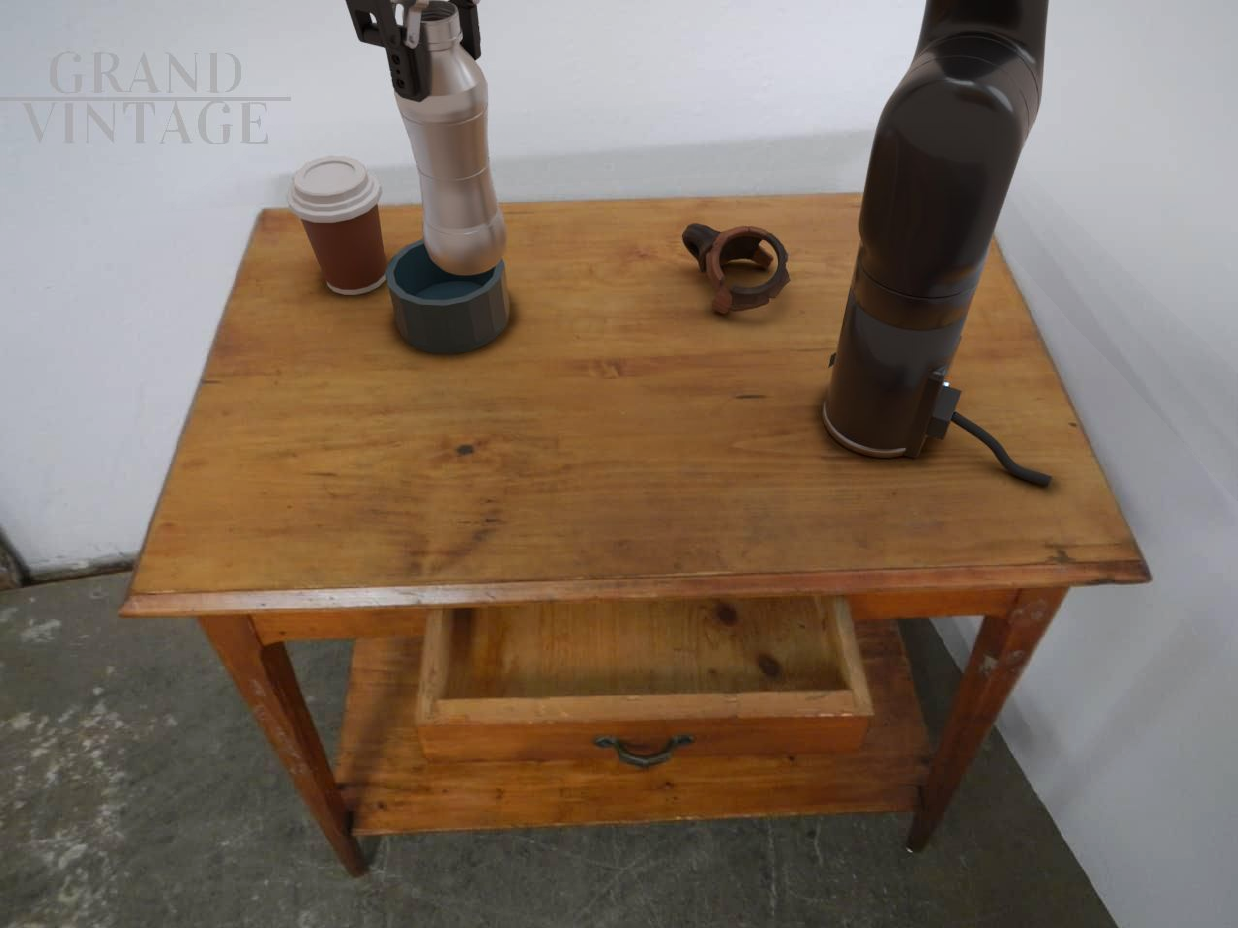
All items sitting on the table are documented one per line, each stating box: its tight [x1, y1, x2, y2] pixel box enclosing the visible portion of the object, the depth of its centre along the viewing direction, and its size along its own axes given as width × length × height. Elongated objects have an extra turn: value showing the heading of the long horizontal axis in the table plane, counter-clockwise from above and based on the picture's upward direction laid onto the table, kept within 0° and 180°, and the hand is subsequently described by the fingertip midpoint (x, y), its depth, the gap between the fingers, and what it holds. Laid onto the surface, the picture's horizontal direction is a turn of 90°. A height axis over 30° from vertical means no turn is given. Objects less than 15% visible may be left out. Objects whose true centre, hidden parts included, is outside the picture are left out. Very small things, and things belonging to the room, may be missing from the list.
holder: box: [385, 238, 511, 355], centre depth 92 cm, size 11×11×6 cm
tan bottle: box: [393, 0, 508, 275], centre depth 69 cm, size 6×7×20 cm
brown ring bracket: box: [681, 222, 792, 315], centre depth 95 cm, size 12×10×8 cm
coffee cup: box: [285, 155, 388, 296], centre depth 94 cm, size 9×9×12 cm
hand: (440, 76), depth 65 cm, fingers closed on tan bottle, 6 cm apart
